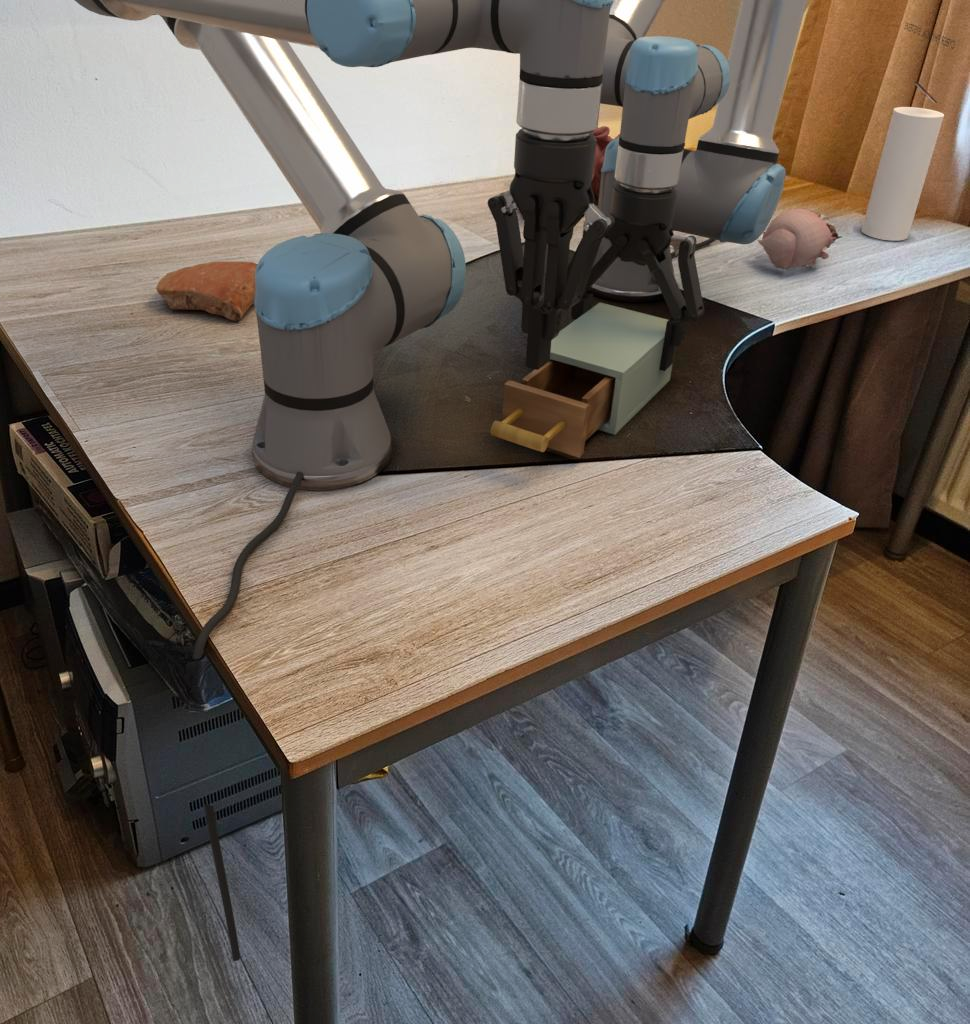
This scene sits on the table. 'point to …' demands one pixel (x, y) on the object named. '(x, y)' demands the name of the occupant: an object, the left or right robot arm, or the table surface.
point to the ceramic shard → (211, 288)
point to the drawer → (555, 408)
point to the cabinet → (617, 355)
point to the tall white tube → (902, 168)
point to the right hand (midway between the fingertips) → (622, 354)
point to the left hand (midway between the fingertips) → (537, 363)
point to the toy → (798, 238)
